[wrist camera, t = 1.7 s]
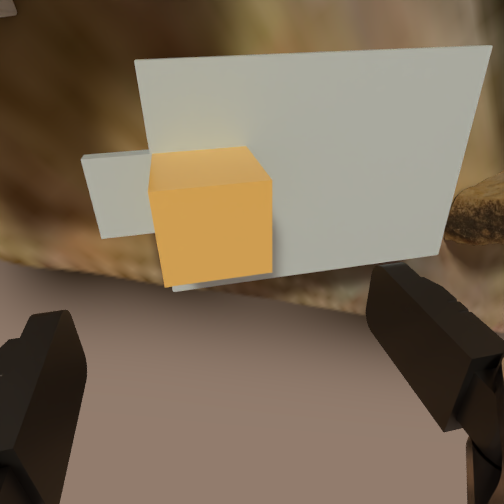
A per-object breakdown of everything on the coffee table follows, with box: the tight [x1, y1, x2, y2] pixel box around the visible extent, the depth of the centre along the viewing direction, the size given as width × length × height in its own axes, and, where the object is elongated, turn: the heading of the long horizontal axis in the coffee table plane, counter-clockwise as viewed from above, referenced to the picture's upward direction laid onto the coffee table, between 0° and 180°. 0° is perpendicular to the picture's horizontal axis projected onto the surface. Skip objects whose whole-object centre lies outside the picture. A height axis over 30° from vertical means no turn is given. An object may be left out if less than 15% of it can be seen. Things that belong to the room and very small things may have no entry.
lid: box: [81, 45, 493, 292], centre depth 18 cm, size 20×12×7 cm, turn 91°
